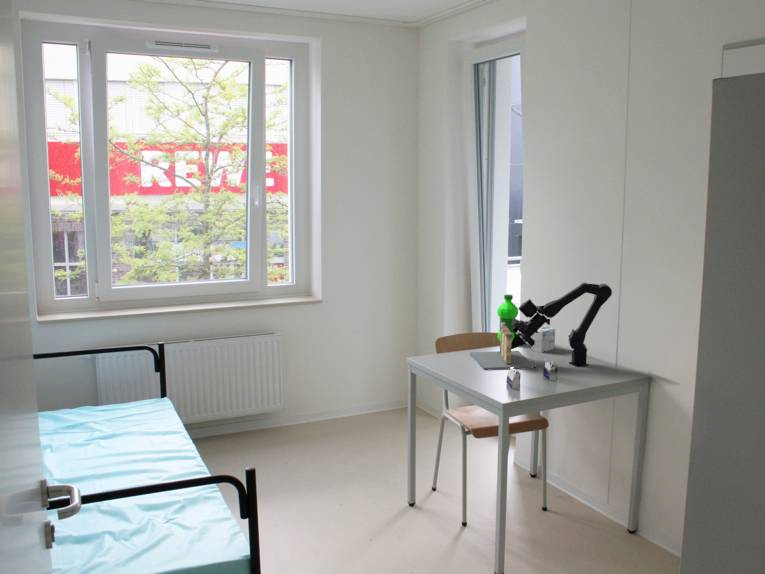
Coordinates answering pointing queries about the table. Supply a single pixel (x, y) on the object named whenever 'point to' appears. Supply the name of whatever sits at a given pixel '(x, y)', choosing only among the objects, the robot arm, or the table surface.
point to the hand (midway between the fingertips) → (509, 348)
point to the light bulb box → (544, 339)
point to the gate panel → (506, 344)
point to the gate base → (501, 359)
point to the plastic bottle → (507, 314)
